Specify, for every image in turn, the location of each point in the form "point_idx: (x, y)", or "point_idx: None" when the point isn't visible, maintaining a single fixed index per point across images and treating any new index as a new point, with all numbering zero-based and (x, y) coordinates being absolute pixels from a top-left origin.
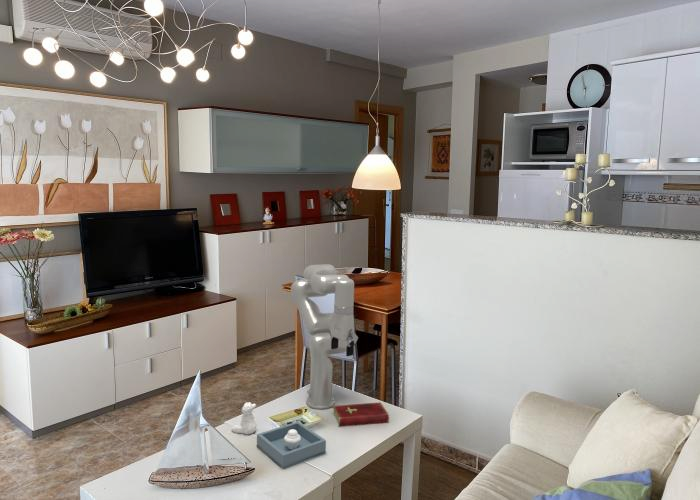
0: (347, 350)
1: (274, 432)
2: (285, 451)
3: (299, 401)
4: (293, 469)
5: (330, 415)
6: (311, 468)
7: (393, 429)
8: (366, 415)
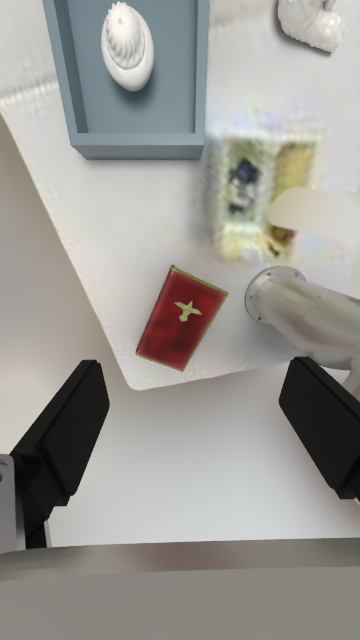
0: (51, 400)
1: (197, 18)
2: None
3: (314, 264)
4: None
5: (220, 280)
6: (34, 68)
7: (114, 338)
8: (153, 321)
